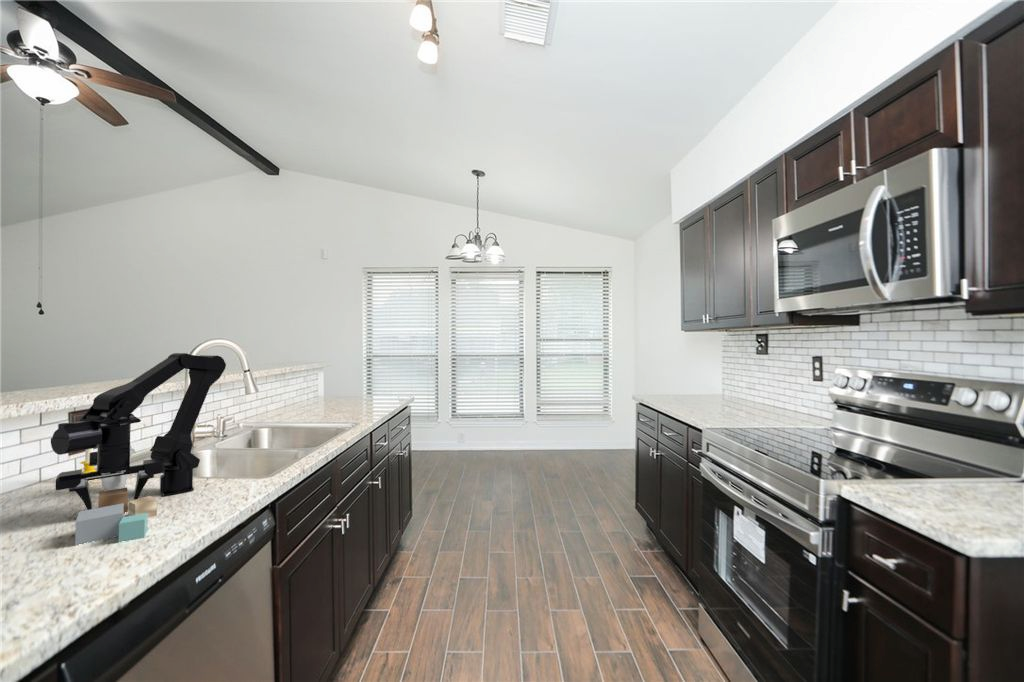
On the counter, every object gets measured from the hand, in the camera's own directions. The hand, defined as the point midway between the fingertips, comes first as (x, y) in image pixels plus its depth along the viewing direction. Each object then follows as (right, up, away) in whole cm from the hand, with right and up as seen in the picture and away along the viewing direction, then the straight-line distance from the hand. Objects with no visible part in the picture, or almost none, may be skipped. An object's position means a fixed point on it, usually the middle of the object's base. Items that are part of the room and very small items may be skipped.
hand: (113, 508), depth 100 cm
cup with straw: (-15, -1, +16) cm, 21 cm away
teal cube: (+16, -1, -12) cm, 20 cm away
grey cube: (+8, -1, -11) cm, 14 cm away
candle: (-30, -1, +24) cm, 38 cm away
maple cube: (+9, -1, -2) cm, 9 cm away
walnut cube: (0, -1, 0) cm, 1 cm away
